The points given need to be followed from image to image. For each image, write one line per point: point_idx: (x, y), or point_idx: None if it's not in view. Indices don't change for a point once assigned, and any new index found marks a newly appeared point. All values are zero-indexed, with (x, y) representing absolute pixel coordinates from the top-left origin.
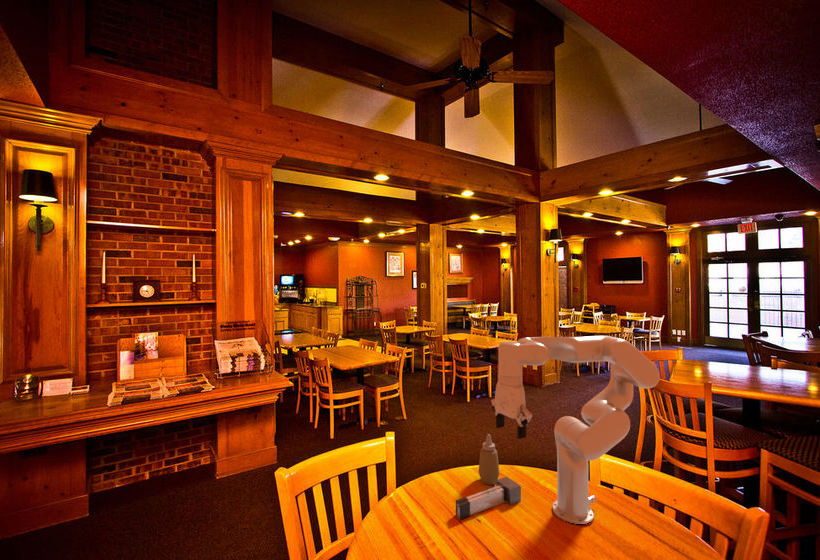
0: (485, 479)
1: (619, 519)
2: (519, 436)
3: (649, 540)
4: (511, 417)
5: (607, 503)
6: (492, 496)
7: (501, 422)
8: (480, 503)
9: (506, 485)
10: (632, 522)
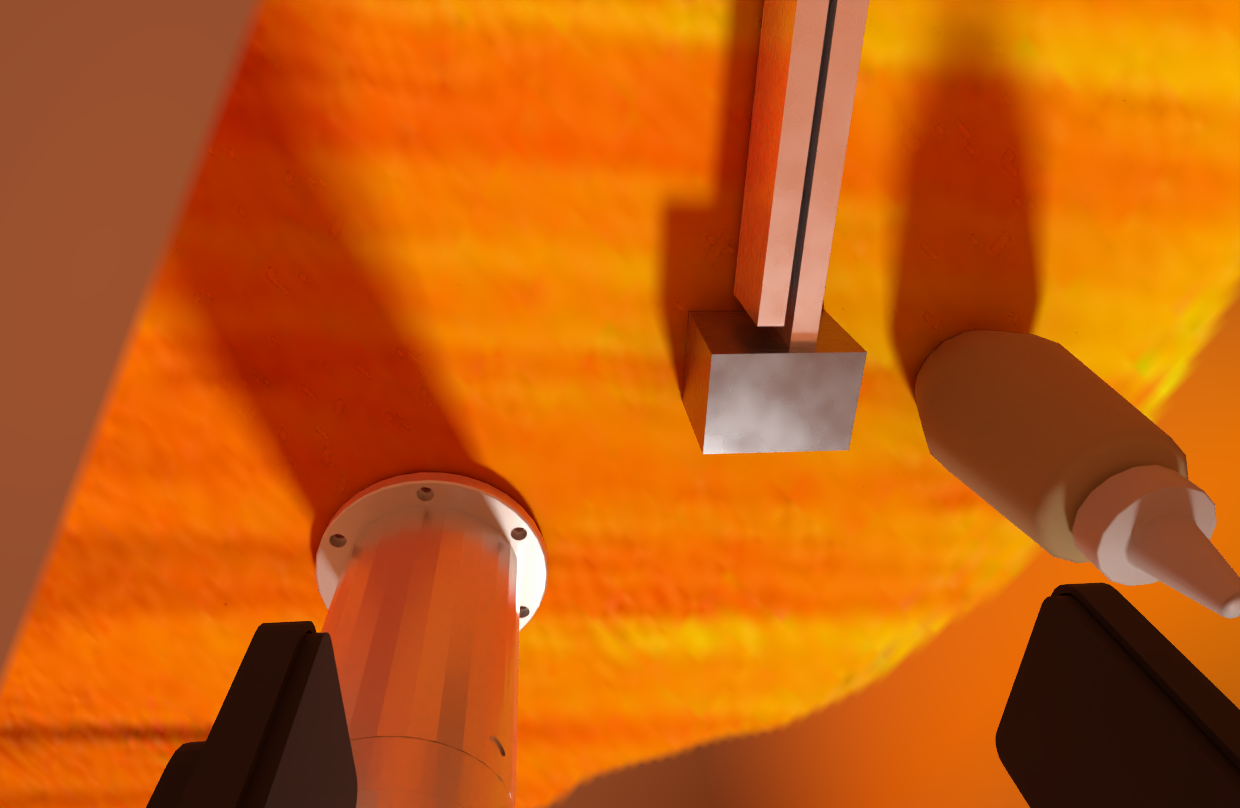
0: (972, 341)
1: None
2: (243, 679)
3: (107, 695)
4: None
5: None
6: (764, 202)
7: (1090, 783)
8: (775, 64)
9: (767, 368)
10: None
